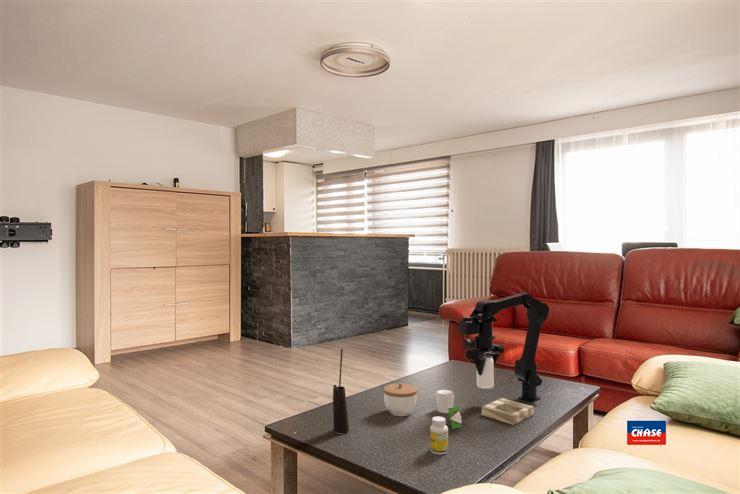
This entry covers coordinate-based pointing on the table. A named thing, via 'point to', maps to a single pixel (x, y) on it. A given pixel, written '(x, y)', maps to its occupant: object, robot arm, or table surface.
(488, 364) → the can
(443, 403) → the white cup
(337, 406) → the butter churn
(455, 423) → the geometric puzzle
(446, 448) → the supplement bottle
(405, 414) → the lidded bowl
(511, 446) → the table surface
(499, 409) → the frame
